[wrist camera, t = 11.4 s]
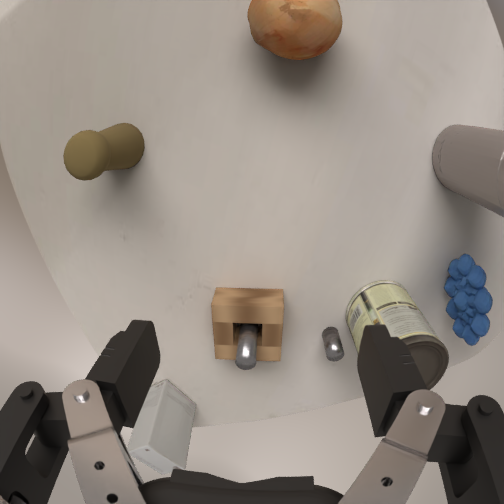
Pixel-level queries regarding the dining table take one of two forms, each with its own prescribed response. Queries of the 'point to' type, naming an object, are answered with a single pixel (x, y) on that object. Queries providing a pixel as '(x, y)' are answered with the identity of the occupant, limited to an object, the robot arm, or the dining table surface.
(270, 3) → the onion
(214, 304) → the collar block
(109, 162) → the cork
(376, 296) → the coffee can
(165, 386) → the skincare box
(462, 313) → the grapes
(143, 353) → the robot arm
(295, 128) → the dining table surface
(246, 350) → the long pin
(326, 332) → the short pin
